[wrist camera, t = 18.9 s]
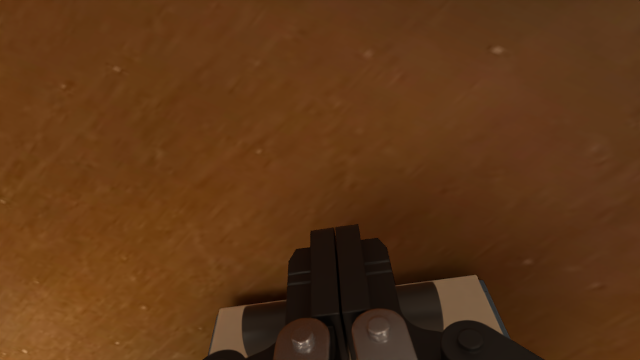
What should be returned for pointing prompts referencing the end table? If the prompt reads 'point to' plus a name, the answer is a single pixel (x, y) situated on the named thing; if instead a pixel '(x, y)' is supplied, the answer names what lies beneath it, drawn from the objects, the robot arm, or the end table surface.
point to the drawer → (417, 307)
